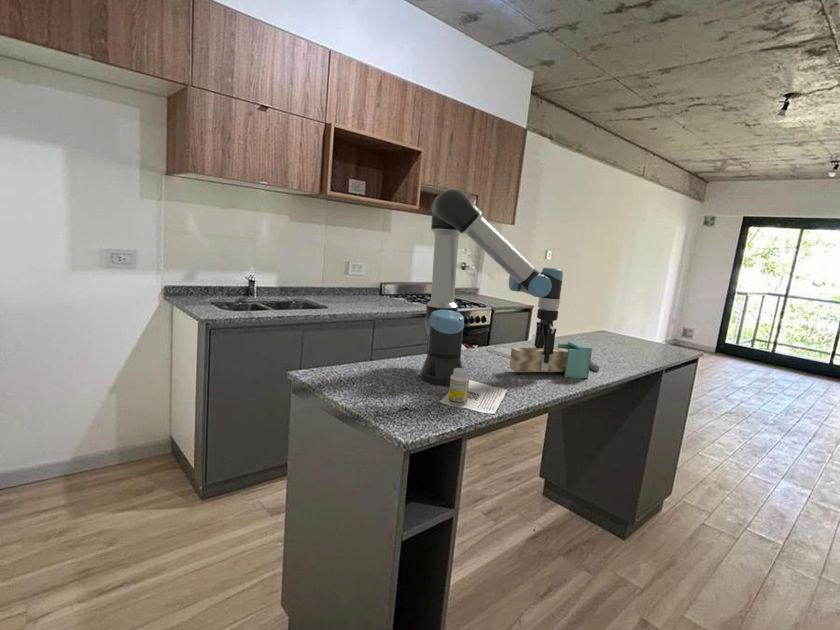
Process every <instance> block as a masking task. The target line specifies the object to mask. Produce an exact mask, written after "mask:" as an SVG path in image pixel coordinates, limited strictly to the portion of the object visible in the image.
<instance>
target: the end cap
mask: <svg viewBox="0 0 840 630" xmlns="http://www.w3.org/2000/svg"><path fill="white" fill-rule="evenodd" d="M557 348H568V352H567V360H566V368H565V372H564V378H565V377H571V378H570V379H581V378H588V379H589V373H590V368H589V367H590V360H591V359H592V353H593V348H592V347H591V346H589V345H587V344H585V343H583V342H581V341H567V343H557ZM591 361H592V360H591Z"/></svg>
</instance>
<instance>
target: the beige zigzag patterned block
mask: <svg viewBox="0 0 840 630" xmlns="http://www.w3.org/2000/svg"><path fill="white" fill-rule="evenodd" d="M510 350H511V358H509V359H510V360H509V369H511V370H512V371H513V372H519V373H520V372H523V373H524V372H526V373H528V372H532V373H533V372H535V373H536V372H539V373H542V372H545V373H546V372H548V373H550V372H554V373H555V372H556V373H557V372H559V373H561V372H562V373H563V372H564V373H565V368H566V360H567V352H568V348H558V347H557V348H556V347H555V348H554V350H553V354H551V355H550V358H549V366H548V371H541V370H540V369H541V360H542V353H544V348H536V347H511V349H510Z"/></svg>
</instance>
